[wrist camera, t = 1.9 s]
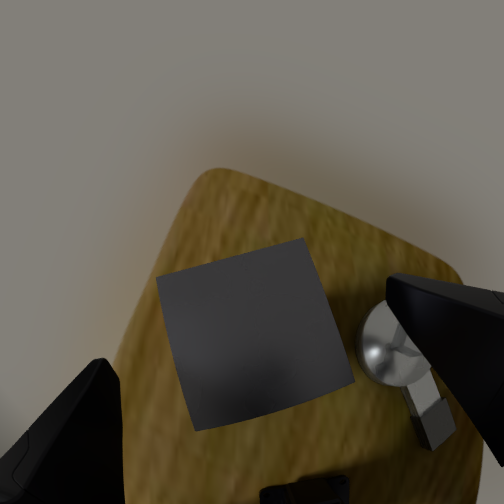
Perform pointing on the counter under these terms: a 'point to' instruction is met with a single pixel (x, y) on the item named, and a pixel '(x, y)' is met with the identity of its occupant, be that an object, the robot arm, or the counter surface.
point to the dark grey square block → (252, 335)
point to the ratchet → (403, 373)
